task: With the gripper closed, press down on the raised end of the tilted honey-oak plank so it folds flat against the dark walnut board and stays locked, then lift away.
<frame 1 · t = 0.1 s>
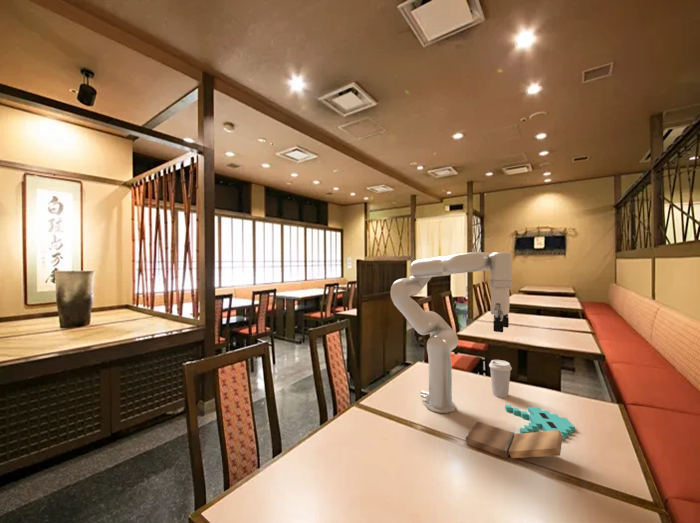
hand: (501, 329, 114), 37 cm above the table, tool pointing down, fingers open, 9 cm apart
oak plank: (535, 443, 96), point 4 cm above the table, hinge at 25.0°
walnut board: (490, 441, 105), on the table
alien figure: (541, 425, 115), on the table
coffee cup: (500, 394, 141), on the table
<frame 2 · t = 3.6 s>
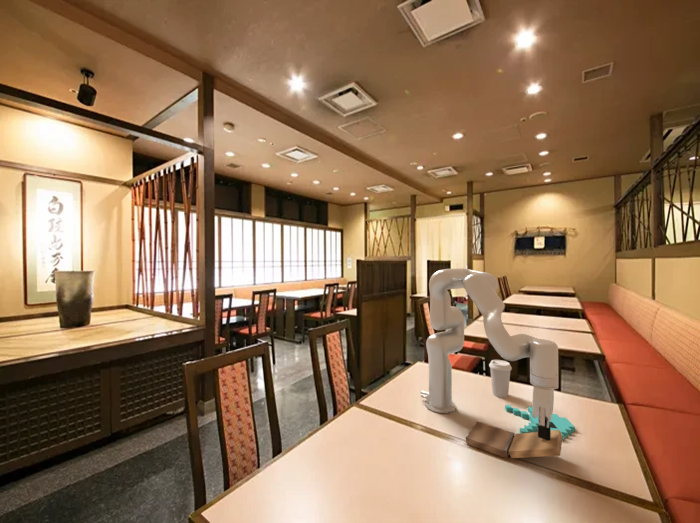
hand: (544, 437, 95), 7 cm above the table, tool pointing down, fingers closed
oak plank: (535, 443, 96), point 4 cm above the table, hinge at 25.0°, touching gripper
everything else where it was.
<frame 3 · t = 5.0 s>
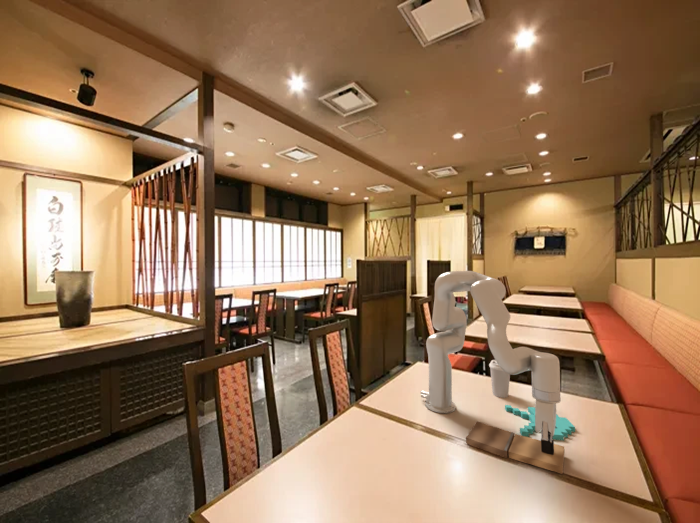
hand: (547, 452, 94), 3 cm above the table, tool pointing down, fingers closed
oak plank: (536, 452, 96), point 2 cm above the table, hinge at 3.8°, touching gripper
everything else where it was.
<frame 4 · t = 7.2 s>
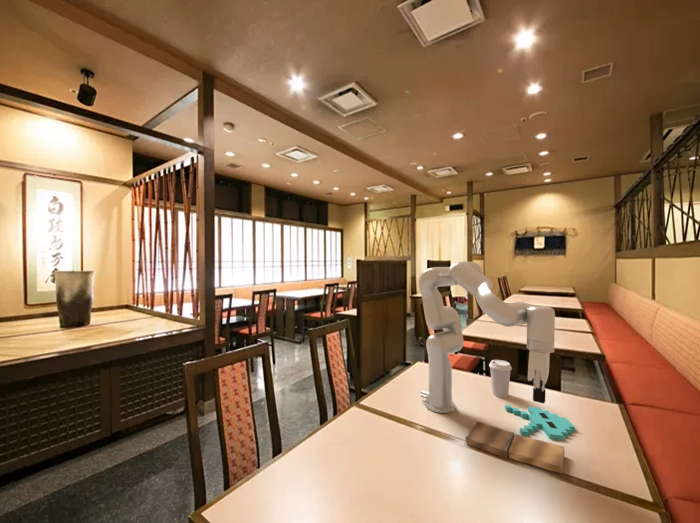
hand: (539, 401, 97), 18 cm above the table, tool pointing down, fingers closed
oak plank: (536, 452, 96), point 2 cm above the table, hinge at 3.7°
everything else where it was.
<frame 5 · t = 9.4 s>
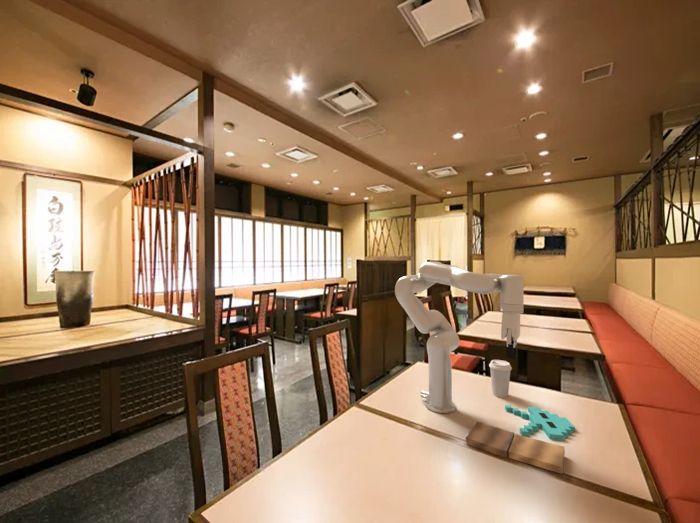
hand: (511, 357, 111), 27 cm above the table, tool pointing down, fingers closed
nothing on the table moved.
at the end: oak plank at +4° (first picture: +25°); the gripper is holding nothing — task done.
